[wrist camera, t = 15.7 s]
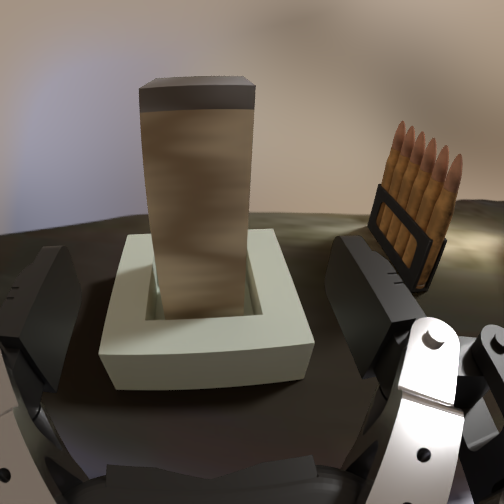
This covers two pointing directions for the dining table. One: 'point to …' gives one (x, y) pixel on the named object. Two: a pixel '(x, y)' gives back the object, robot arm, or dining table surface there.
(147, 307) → the post socket
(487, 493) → the robot arm
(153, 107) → the brown rectangular block
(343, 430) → the dining table surface
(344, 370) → the dining table surface
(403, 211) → the ammunition clip
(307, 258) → the dining table surface
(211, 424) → the dining table surface
